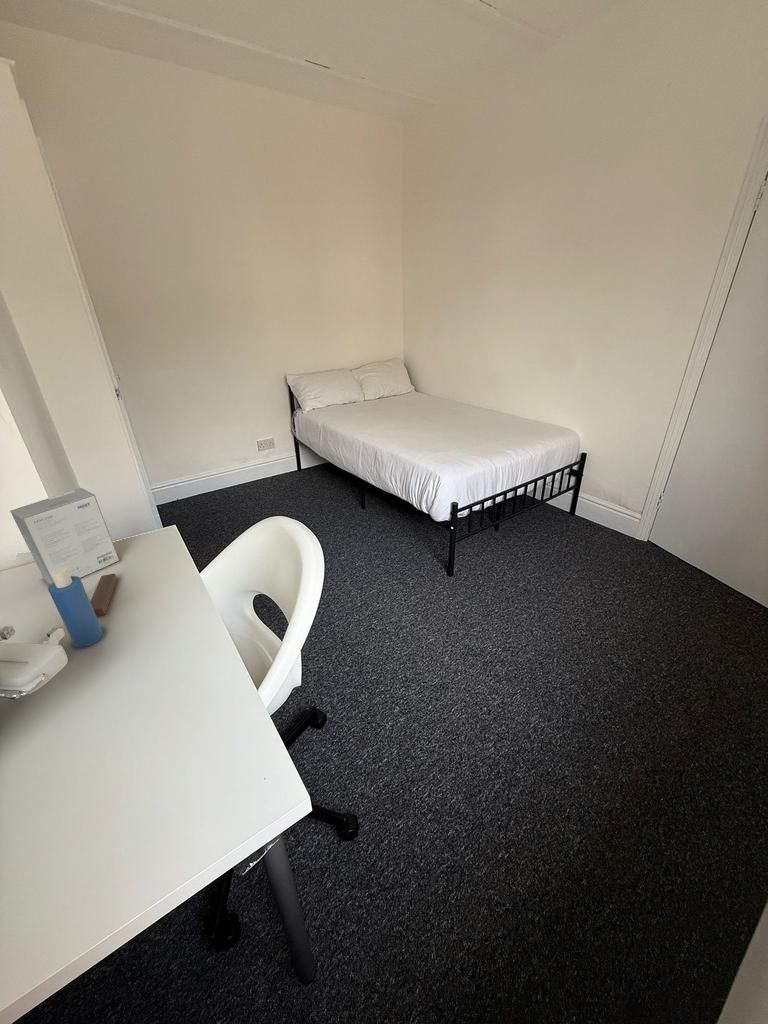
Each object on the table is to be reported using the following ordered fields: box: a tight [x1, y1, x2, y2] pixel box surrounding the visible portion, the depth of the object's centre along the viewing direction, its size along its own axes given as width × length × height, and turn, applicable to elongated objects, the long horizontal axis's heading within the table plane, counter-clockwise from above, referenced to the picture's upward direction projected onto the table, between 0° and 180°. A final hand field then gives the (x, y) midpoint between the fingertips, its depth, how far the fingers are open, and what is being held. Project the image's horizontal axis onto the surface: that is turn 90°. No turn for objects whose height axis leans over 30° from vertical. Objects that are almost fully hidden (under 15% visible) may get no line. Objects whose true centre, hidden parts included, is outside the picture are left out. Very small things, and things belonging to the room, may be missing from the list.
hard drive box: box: [9, 487, 120, 586], centre depth 104 cm, size 16×8×20 cm, turn 144°
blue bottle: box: [47, 567, 104, 648], centre depth 83 cm, size 5×5×17 cm
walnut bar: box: [90, 573, 118, 618], centre depth 98 cm, size 3×14×2 cm, turn 20°
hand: (35, 629), depth 74 cm, fingers open, 8 cm apart
